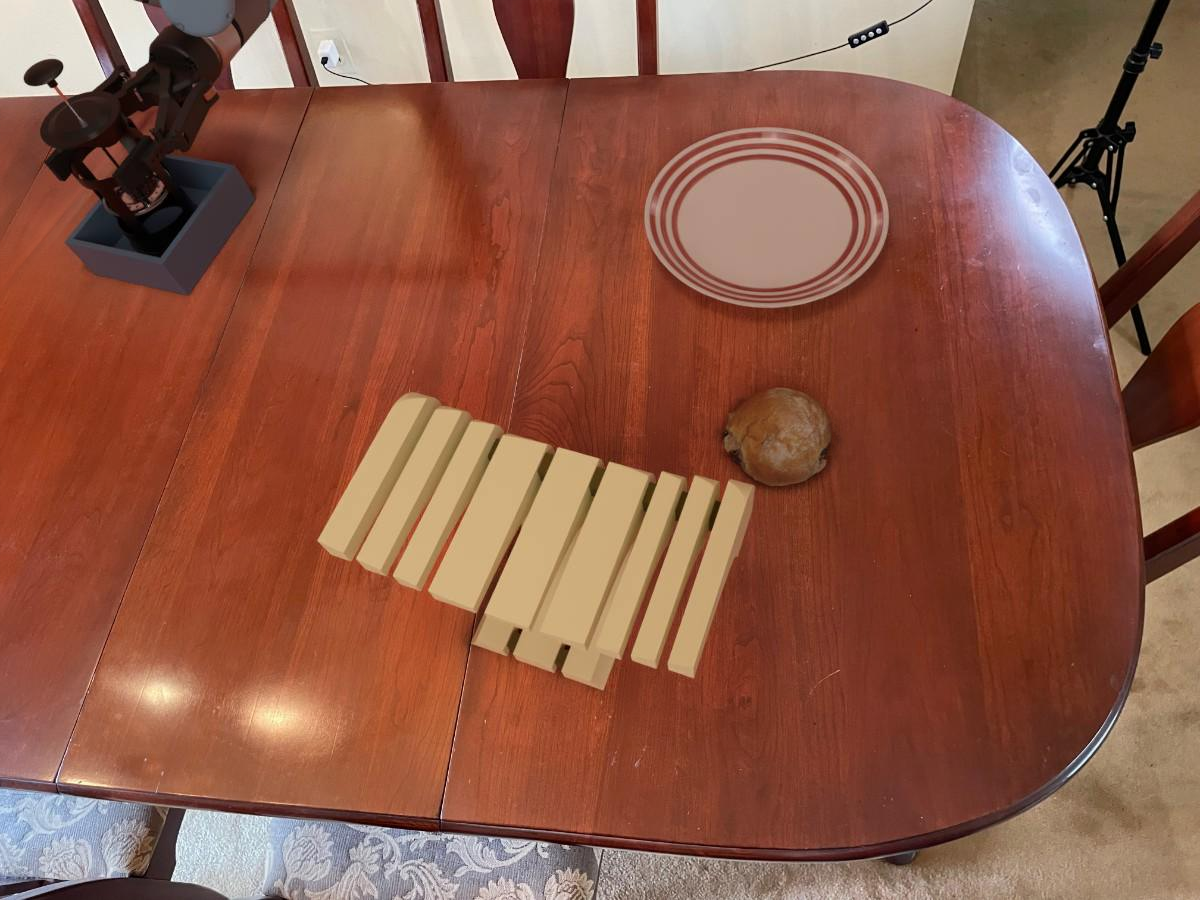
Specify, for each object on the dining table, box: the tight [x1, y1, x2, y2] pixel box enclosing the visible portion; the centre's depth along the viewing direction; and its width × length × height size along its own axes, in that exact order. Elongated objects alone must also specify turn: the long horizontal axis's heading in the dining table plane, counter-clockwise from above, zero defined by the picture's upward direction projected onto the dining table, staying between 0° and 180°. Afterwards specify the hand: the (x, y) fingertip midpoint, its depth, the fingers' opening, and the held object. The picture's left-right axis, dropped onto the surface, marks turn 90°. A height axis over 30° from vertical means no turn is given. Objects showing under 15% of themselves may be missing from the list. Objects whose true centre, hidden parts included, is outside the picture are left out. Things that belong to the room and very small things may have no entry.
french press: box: [23, 58, 198, 256], centre depth 97 cm, size 12×9×23 cm
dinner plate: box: [643, 126, 890, 309], centre depth 97 cm, size 28×27×3 cm
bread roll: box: [721, 387, 833, 487], centre depth 83 cm, size 10×10×8 cm
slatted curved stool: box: [316, 391, 756, 691], centre depth 72 cm, size 30×16×18 cm, turn 69°
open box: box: [64, 153, 256, 297], centre depth 106 cm, size 15×17×6 cm
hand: (87, 178), depth 95 cm, fingers closed on french press, 9 cm apart
